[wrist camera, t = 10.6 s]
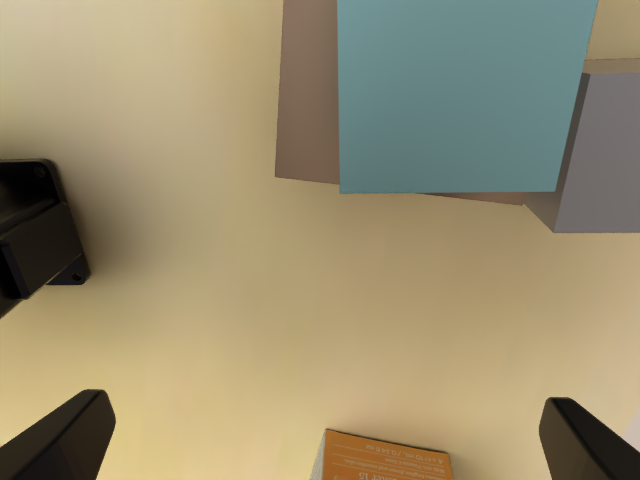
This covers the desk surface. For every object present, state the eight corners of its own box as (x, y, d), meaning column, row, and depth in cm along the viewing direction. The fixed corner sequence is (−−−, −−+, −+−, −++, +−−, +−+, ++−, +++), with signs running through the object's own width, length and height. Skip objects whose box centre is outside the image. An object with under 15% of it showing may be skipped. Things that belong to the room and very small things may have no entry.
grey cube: (505, 184, 19) (553, 232, 14) (525, 61, 17) (590, 74, 12) (623, 182, 18) (711, 232, 14) (660, 57, 16) (780, 68, 12)
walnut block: (289, 148, 19) (274, 177, 15) (305, -104, 15) (290, -145, 11) (489, 171, 19) (522, 205, 15) (562, -77, 15) (628, -109, 11)
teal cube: (343, 142, 15) (339, 193, 10) (341, -27, 12) (336, -57, 8) (491, 140, 14) (554, 191, 10) (517, -35, 12) (614, -71, 8)
